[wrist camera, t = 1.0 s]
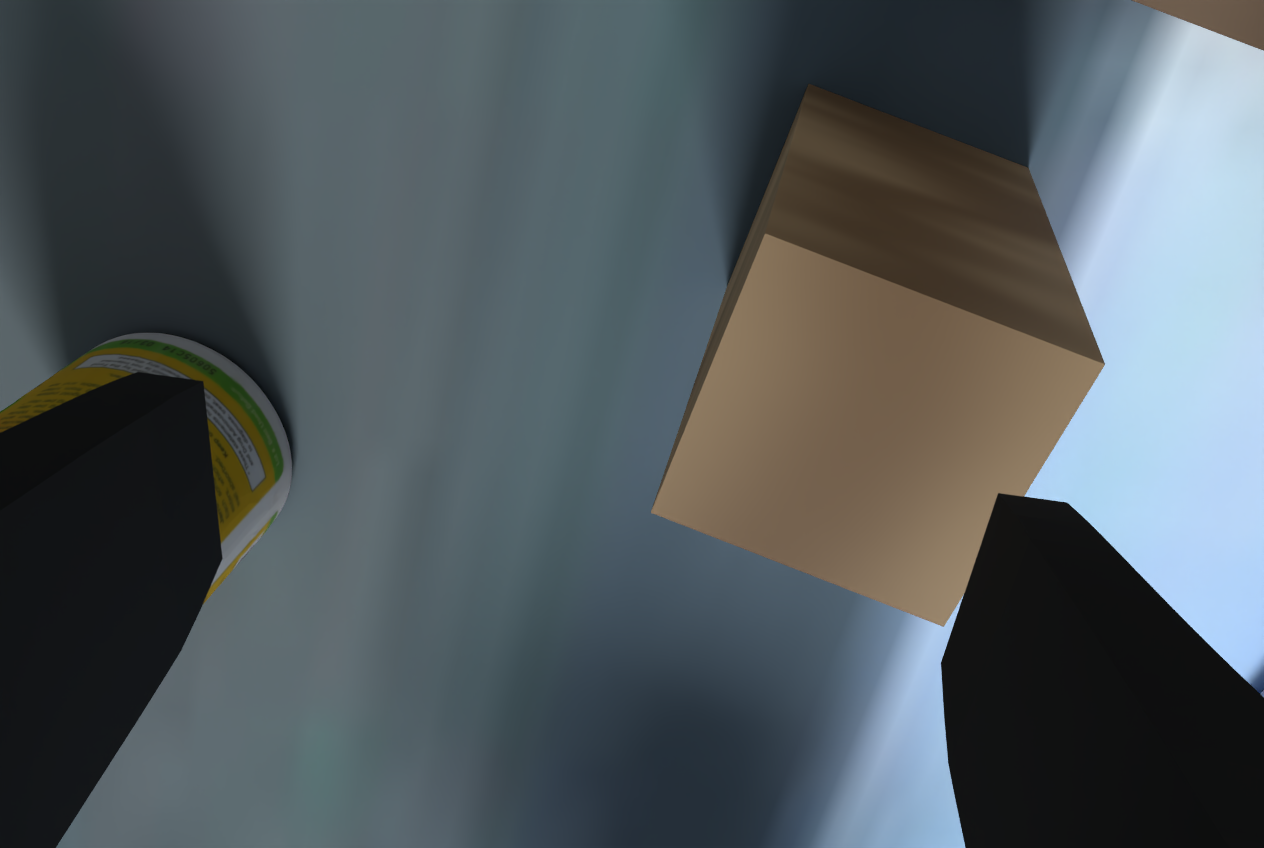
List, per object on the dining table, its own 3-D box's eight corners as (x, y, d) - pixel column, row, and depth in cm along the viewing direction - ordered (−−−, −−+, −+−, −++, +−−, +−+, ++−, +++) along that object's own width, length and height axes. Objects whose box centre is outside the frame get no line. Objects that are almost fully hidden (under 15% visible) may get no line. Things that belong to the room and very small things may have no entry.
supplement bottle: (78, 291, 24) (-347, 543, 16) (314, 373, 24) (10, 672, 16) (72, 492, 27) (-294, 798, 19) (284, 568, 27) (11, 911, 19)
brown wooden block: (1028, 167, 20) (1104, 364, 13) (925, 364, 22) (943, 626, 15) (808, 83, 20) (764, 233, 13) (726, 287, 22) (650, 512, 15)
